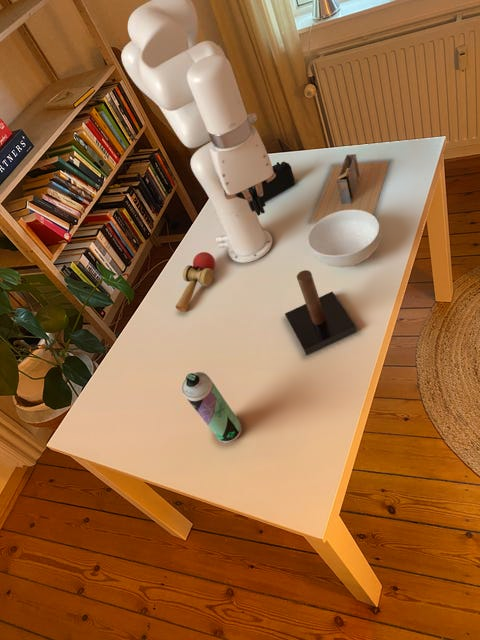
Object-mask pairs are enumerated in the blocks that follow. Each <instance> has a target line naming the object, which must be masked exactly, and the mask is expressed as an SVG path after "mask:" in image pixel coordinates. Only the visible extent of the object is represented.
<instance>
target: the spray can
mask: <svg viewBox="0 0 480 640" xmlns="http://www.w3.org/2000/svg"><path fill="white" fill-rule="evenodd" d="M181 391H182V394H183V395H184V397H185V398H186V400H187V401H188V403H189V404H190V405H191V406H192V407H193V408H194V410H195V412H197V414H198V415H199V416H200V418H201V419H202V420H203V421H204V422H205V424H206V425H207V427H208V428H209V429H210V430H211V432H212V433H213V434H214V436H215V437H216V438H217V439H218V440H219V441H220V442H221V443H225V444H228V443H233V442H234V441H236V440H237V439H239V437H240V435H241V432H242V429H243V428H242V427H243V426H242V424H241V422H240V420H239V418H238V417H237V416H236V414H235V413H234V411H233V410H232V408H231V407H230V405H229V404H228V402H227V401H226V399H225V398H224V396H223V395H222V394H221V392H220V390H219V389H218V387H217V386H216V385H215V383H214V382H213V380H212V379H211V377H210V376H209V375H208V374H207V373H205V372H202V371H197V372H191V373H188V374H187V375H186V377H185V379H184V380H183V382H182V385H181Z"/></svg>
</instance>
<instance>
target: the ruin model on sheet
mask: <svg viewBox="0 0 480 640" xmlns="http://www.w3.org/2000/svg"><path fill="white" fill-rule="evenodd" d="M390 162H391V161H390V160H386V161H374V162H373V161H372V162H360V163H358V157H357V153H353V154H346V155H345V158H344V160H343V163H342V164H335V165H333V166H332V168H331V171H330V174H329V176H328V178H327V180H326V184H325V186H324V188H323V191H322V193H321V196H320V199H319V201H318V203H317V206H316V208H315V211H314V213H313V217H312V219H311V222H318V221H320V220H321V219H322V218H324V217H326V216H328V215H330V214H332V213H335V212H339V211H343V210H362V211H366V212H369V213H370V214H372V215H373V216H375V211H376V208H377V205H378V201H379V198H380V195H381V191H382V188H383V185H384V181H385V179H386V175H387V172H388V169H389V165H390Z"/></svg>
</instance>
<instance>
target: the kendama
mask: <svg viewBox="0 0 480 640" xmlns="http://www.w3.org/2000/svg"><path fill="white" fill-rule="evenodd" d="M215 268H216V260H215V258H214V256H213V255H212V254H211V253H210V252H207V251H202V252H199V253H197V254H196V255H195V256H194V258H193V260H192V265H190V264H189V265H186V266H185V267H184V269H183V272H182V278H183V280H184V281H185V282H187V283H189V284H188V285H187V287H186V288H185V289H184V291H183V293H182V295H181V296H180V298H179V300H178V301H177V303H176V305H175V308H176V310H177V311H179V312H182V313H186V312H187V310H188V307H189V305H190V303H191V300H192V297H193V295H194V292H195V290H196V286H197V283H198V282H200V285H201V286H202V287H209V286H210V285H211V283H212V281H213V277H214V273H213V271H214V270H215Z"/></svg>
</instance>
